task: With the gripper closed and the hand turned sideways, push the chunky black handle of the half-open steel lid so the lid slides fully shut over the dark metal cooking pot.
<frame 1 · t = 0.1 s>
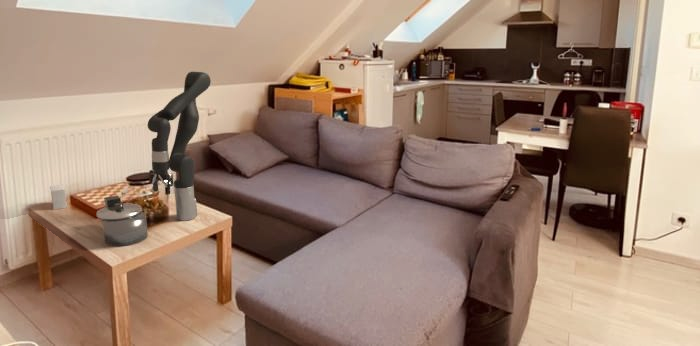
hand: (161, 192, 223), 17 cm above the table, tool pointing down, fingers open, 8 cm apart
pot: (126, 238, 214), on the table
teacup: (136, 203, 258), on the table
lid: (117, 207, 217), point 12 cm above the table, slide at -7.0 cm
skincare box: (60, 206, 252), on the table
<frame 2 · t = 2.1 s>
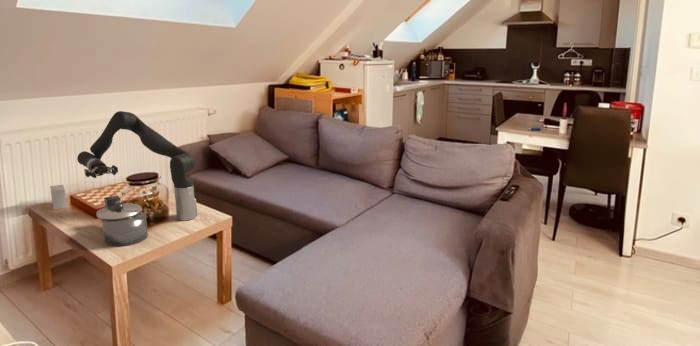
hand: (105, 174, 225), 24 cm above the table, tool horizontal, fingers open, 8 cm apart
nothing on the table moved.
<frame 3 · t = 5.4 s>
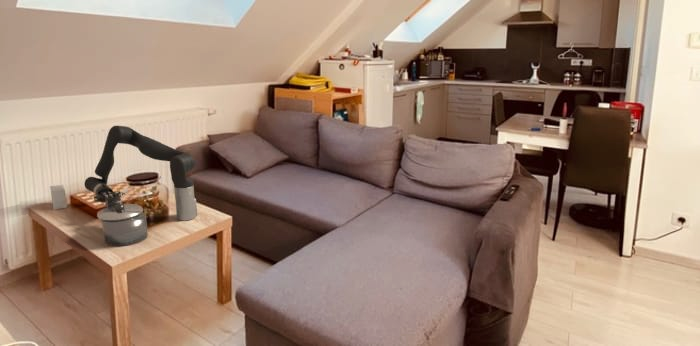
hand: (112, 201, 225), 12 cm above the table, tool horizontal, fingers closed
lid: (118, 207, 216), point 12 cm above the table, slide at -5.7 cm, touching gripper
everything else where it was.
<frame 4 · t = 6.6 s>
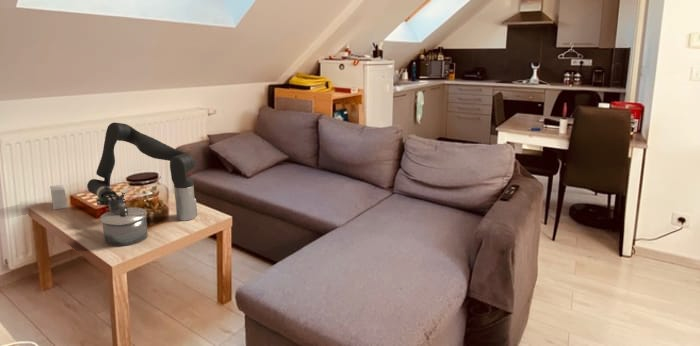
hand: (115, 204, 220), 12 cm above the table, tool horizontal, fingers closed
lid: (122, 211, 212), point 12 cm above the table, slide at 0.1 cm, touching gripper
everything else where it was.
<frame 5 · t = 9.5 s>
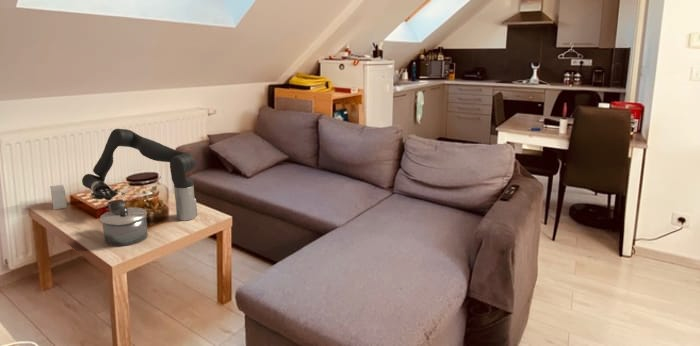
hand: (109, 198, 228), 12 cm above the table, tool horizontal, fingers closed
lid: (122, 211, 212), point 12 cm above the table, slide at 0.0 cm
everything else where it was.
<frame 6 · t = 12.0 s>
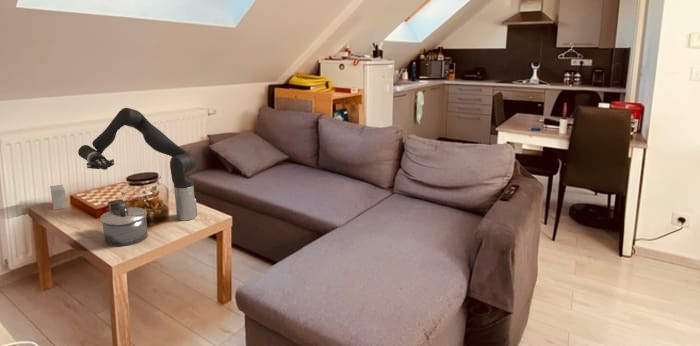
hand: (105, 167, 224), 28 cm above the table, tool horizontal, fingers closed
nothing on the table moved.
at the end: lid slide at 0.0 cm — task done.
